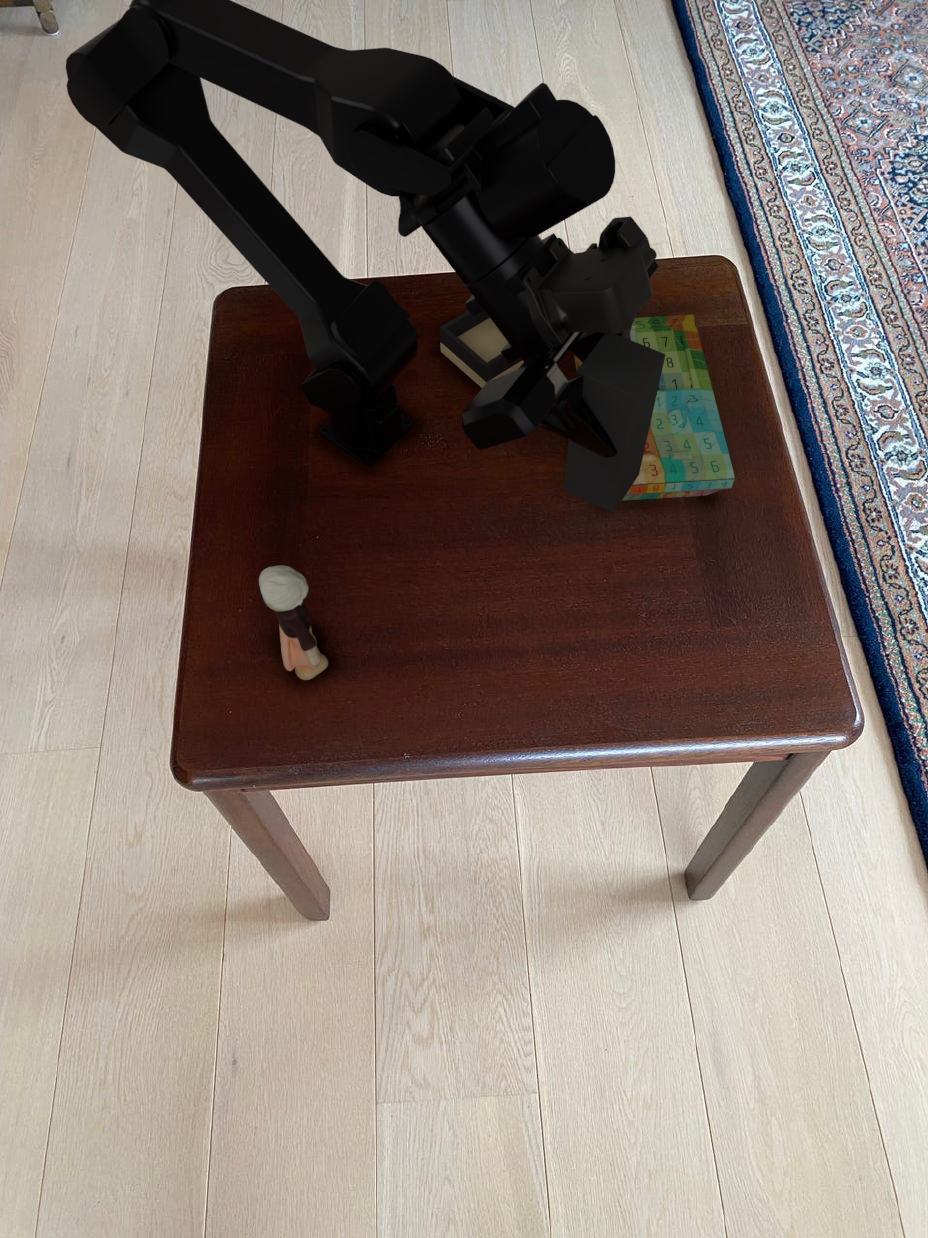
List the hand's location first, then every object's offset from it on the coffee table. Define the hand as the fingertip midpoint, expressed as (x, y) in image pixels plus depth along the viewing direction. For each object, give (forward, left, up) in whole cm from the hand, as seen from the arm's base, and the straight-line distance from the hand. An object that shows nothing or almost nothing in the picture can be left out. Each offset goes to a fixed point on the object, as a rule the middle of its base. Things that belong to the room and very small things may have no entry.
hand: (627, 433), depth 68 cm
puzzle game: (-5, +13, -14) cm, 20 cm away
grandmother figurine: (-12, -24, -14) cm, 31 cm away
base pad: (-22, +12, -14) cm, 29 cm away
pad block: (-1, 0, -7) cm, 7 cm away
